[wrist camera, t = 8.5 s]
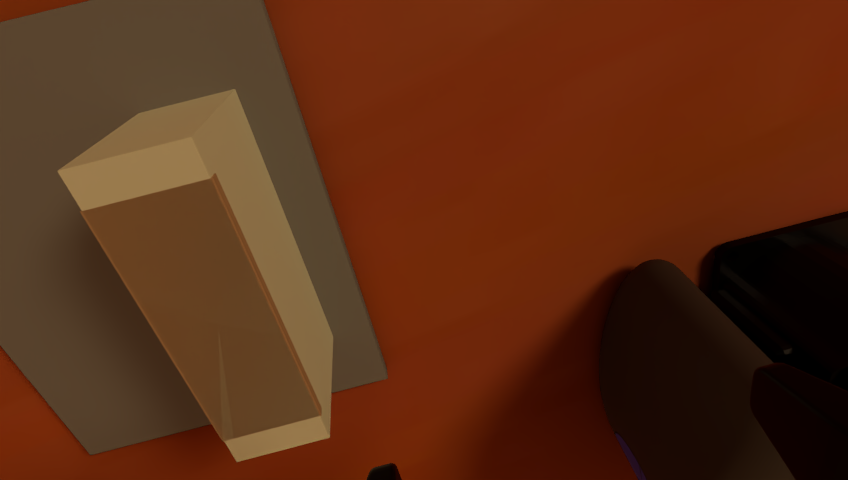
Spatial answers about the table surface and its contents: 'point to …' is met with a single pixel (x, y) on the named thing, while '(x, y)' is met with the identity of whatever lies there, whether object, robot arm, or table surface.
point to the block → (213, 268)
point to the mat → (77, 245)
